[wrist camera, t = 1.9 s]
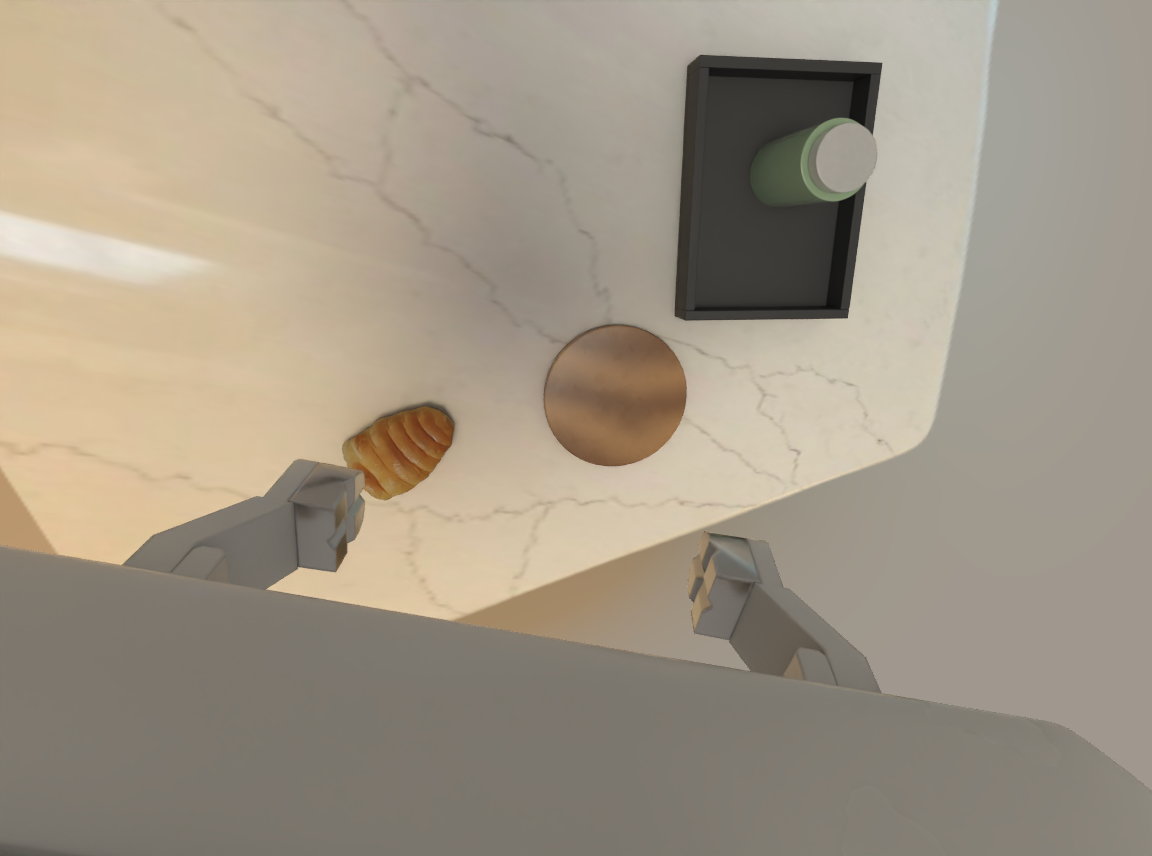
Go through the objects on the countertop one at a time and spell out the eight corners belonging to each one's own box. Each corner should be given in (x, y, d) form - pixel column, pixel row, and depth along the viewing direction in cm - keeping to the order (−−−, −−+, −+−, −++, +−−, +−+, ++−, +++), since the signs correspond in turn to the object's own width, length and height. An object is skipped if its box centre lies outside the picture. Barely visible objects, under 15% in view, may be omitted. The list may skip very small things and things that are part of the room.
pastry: (425, 383, 53) (420, 394, 49) (472, 443, 55) (470, 457, 52) (338, 444, 54) (327, 459, 50) (388, 500, 56) (381, 518, 52)
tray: (687, 65, 48) (699, 54, 45) (859, 72, 50) (882, 62, 47) (674, 316, 54) (684, 320, 51) (829, 314, 56) (848, 318, 53)
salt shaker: (752, 137, 50) (814, 112, 40) (814, 138, 51) (890, 115, 41) (746, 207, 52) (804, 200, 42) (807, 207, 52) (878, 201, 42)
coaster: (542, 325, 53) (543, 327, 52) (688, 323, 54) (691, 325, 54) (544, 466, 57) (545, 469, 56) (680, 460, 58) (682, 463, 58)
